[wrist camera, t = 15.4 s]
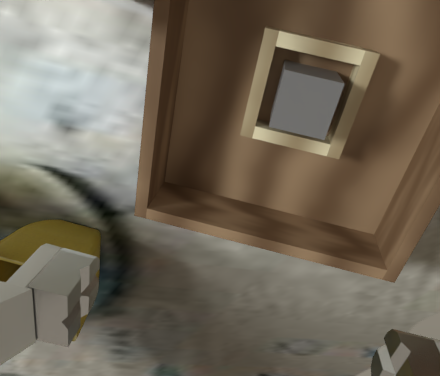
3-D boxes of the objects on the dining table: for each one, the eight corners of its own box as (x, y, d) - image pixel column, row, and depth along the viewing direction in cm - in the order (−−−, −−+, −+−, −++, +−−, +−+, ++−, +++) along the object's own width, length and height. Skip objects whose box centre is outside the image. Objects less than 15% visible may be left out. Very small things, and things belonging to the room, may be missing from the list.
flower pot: (114, 280, 43) (75, 344, 35) (44, 261, 43) (-10, 320, 35) (118, 220, 39) (75, 277, 31) (41, 199, 39) (-21, 251, 31)
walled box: (156, 183, 36) (134, 215, 30) (194, -128, 24) (169, -163, 19) (377, 239, 35) (394, 282, 29) (529, -58, 23) (601, -75, 18)
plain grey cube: (271, 110, 30) (268, 126, 26) (284, 59, 28) (284, 69, 24) (319, 121, 29) (324, 140, 25) (336, 71, 27) (344, 83, 24)
